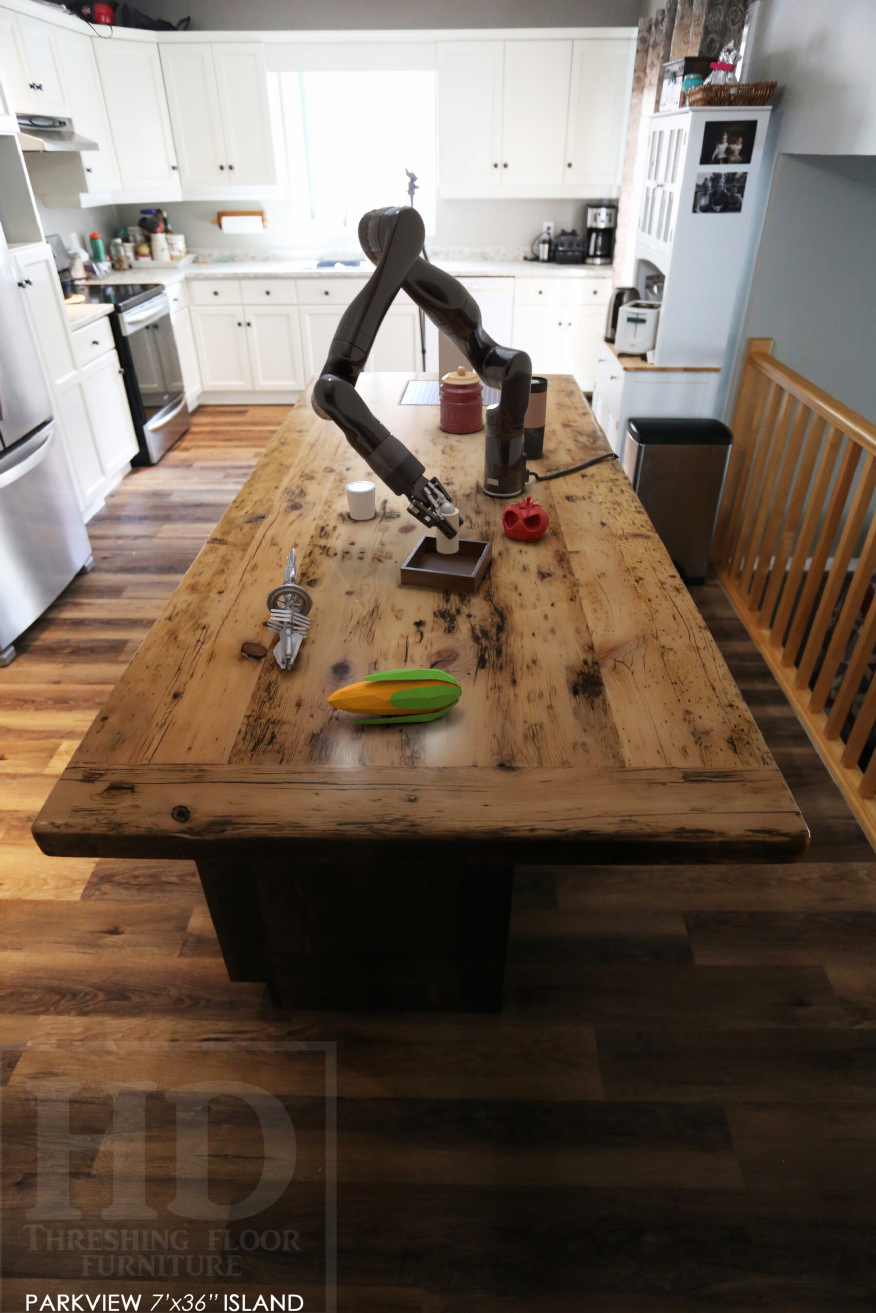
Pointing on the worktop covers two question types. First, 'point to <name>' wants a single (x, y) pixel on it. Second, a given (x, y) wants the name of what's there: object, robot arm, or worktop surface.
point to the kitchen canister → (461, 402)
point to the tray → (447, 565)
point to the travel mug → (535, 419)
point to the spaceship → (289, 614)
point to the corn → (400, 695)
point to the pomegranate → (525, 520)
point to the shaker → (441, 540)
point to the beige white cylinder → (361, 499)
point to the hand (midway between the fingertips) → (457, 530)
